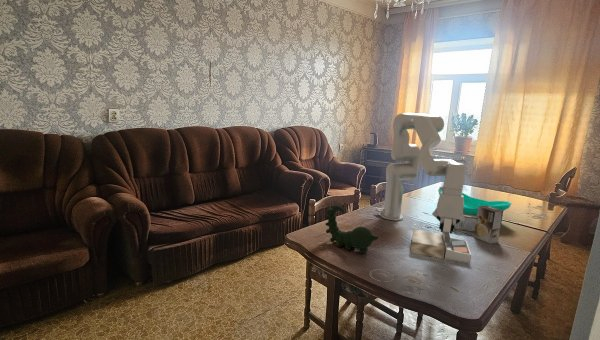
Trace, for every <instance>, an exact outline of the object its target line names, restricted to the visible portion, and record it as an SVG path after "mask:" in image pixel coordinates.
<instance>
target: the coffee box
mask: <svg viewBox="0 0 600 340" xmlns="http://www.w3.org/2000/svg"><path fill="white" fill-rule="evenodd" d="M503 214H504V211H502V210H499V209H496V208H493V207H490V206H487V205H486V206H479V207H478V213H477V219H476V225H475V232H473V233H474V234H473V237H474V238H476V239H478V240H481V241H483V242H485V243H487V244H497V243H499V238H500V234H501V232H500V231H501V227H502V222H503V216H504V215H503Z"/></svg>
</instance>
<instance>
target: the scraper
mask: <svg viewBox="0 0 600 340" xmlns="http://www.w3.org/2000/svg"><path fill="white" fill-rule="evenodd" d="M443 222H444V227H443V232H441V234H443V239H444V242H446V243H449V242H450V237H451V235H450V229H451V224H452V218H446V217H444V220H443Z"/></svg>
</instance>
